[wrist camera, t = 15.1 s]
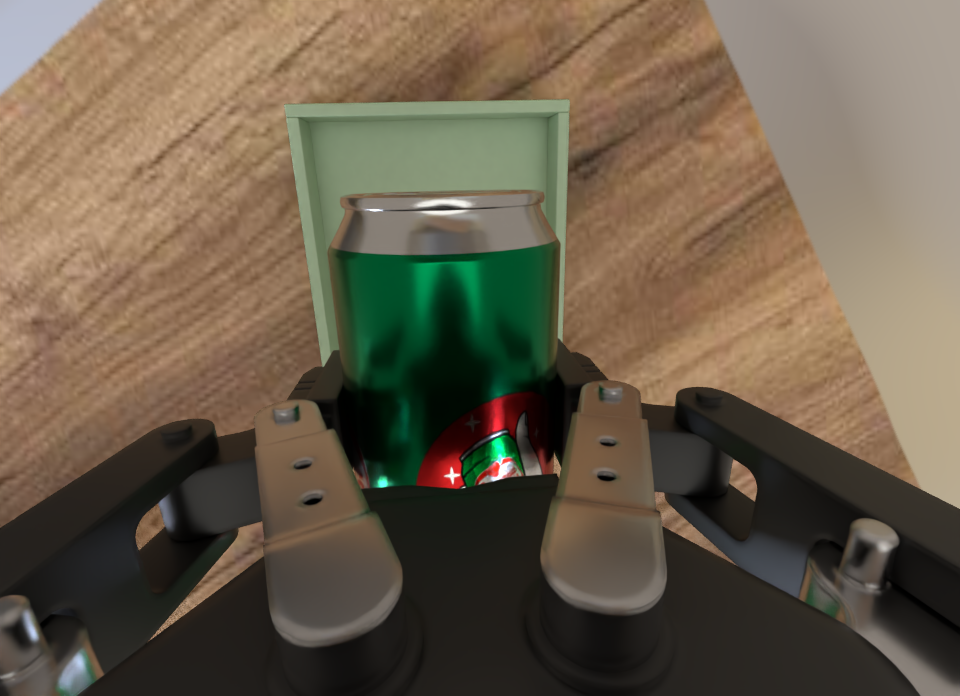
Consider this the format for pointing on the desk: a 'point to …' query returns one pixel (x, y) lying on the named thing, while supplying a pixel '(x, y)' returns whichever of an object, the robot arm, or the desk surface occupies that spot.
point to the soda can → (447, 335)
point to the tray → (420, 166)
